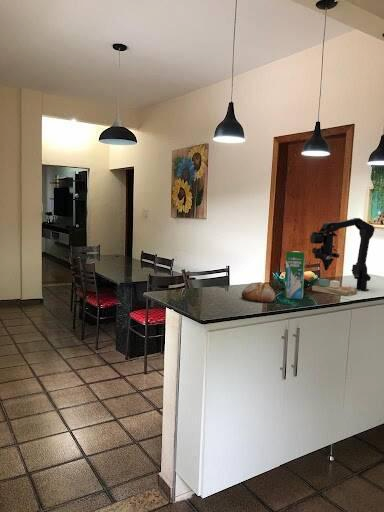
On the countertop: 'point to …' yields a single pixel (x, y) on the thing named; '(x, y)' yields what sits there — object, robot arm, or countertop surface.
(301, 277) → the milk carton
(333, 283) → the key ivory
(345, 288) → the key terracotta
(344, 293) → the wooden cutting board
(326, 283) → the key teal
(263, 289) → the bread
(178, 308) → the countertop surface
